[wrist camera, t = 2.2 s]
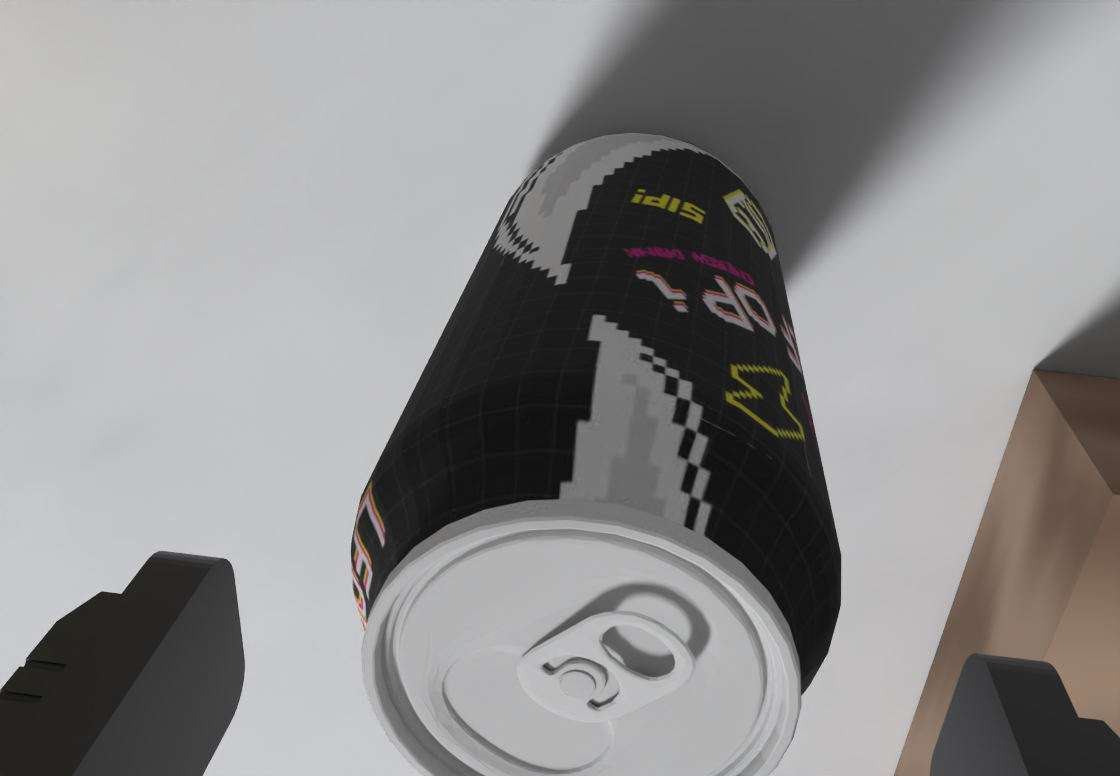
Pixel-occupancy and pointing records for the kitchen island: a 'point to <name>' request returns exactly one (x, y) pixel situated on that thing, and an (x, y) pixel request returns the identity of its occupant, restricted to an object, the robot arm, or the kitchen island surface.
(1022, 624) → the socket block
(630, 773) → the beverage can
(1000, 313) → the kitchen island surface
